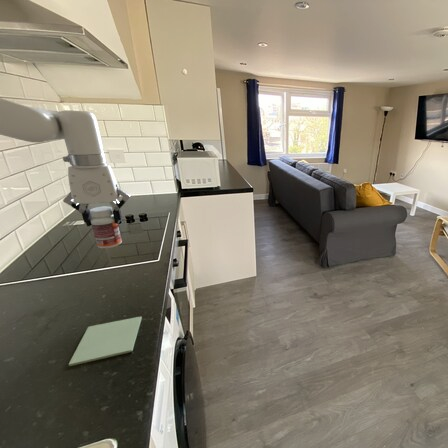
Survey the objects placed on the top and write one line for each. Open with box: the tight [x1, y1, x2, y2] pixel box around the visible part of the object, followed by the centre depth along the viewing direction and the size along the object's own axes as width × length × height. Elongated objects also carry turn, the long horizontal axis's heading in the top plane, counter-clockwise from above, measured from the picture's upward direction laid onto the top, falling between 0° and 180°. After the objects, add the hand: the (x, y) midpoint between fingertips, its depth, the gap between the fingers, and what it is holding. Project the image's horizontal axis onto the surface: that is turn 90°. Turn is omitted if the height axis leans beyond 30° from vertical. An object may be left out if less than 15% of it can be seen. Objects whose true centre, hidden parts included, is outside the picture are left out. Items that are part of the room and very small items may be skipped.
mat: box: [68, 316, 143, 367], centre depth 64 cm, size 12×12×1 cm
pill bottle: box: [89, 205, 123, 249], centre depth 77 cm, size 6×6×11 cm
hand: (104, 222), depth 76 cm, fingers closed on pill bottle, 6 cm apart
